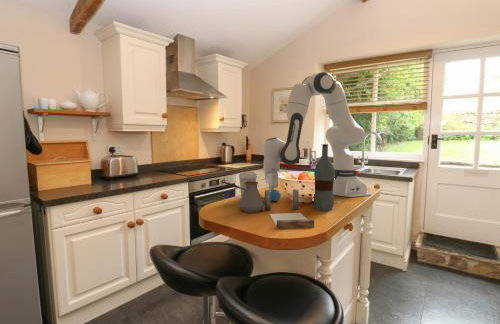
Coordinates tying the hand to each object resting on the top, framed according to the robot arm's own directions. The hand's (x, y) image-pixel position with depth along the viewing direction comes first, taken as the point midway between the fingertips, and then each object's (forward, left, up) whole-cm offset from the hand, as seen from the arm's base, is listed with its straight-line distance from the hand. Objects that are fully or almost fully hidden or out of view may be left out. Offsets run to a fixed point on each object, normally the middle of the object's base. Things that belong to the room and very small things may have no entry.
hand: (271, 192), depth 155 cm
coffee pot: (+18, +27, -3) cm, 32 cm away
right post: (-7, +25, -3) cm, 26 cm away
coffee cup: (+14, +9, -3) cm, 16 cm away
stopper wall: (0, +49, -3) cm, 49 cm away
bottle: (-20, +25, -3) cm, 33 cm away
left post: (+6, +25, -3) cm, 26 cm away
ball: (0, +9, 0) cm, 9 cm away
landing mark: (0, +39, -3) cm, 39 cm away
